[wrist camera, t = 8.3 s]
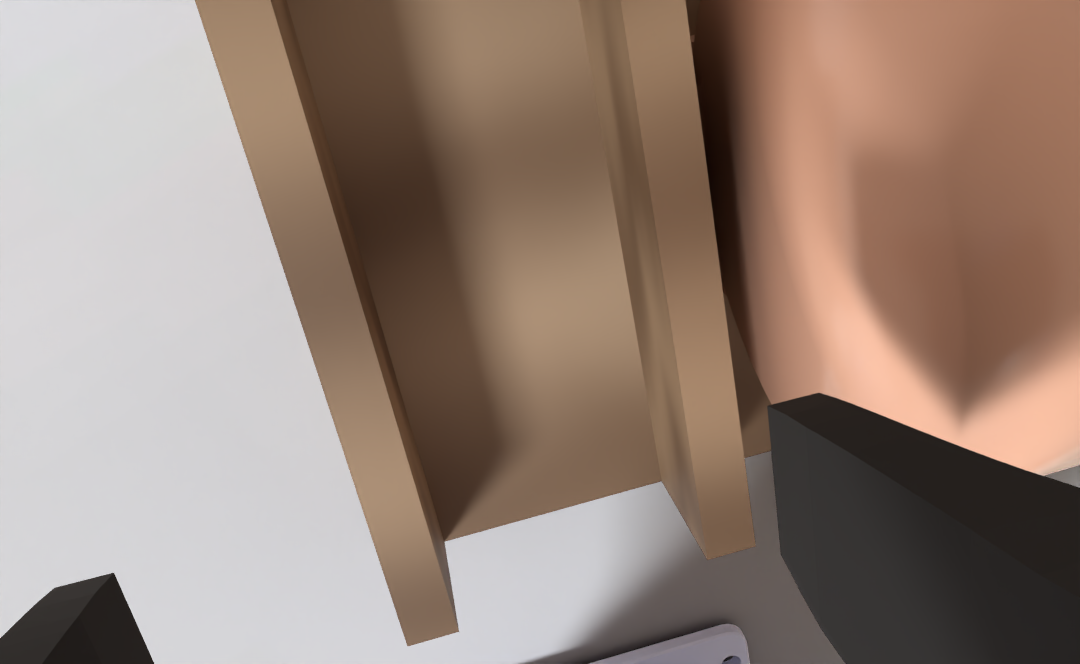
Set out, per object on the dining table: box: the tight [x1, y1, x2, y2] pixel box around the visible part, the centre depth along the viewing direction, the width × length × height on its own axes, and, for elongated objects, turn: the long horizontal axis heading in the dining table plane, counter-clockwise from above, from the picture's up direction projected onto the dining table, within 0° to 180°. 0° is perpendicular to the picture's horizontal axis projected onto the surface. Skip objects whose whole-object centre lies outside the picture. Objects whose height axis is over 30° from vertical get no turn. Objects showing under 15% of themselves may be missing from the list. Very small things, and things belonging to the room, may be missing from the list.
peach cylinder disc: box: [690, 0, 1080, 476], centre depth 15 cm, size 9×4×9 cm, turn 12°
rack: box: [195, 0, 772, 646], centre depth 18 cm, size 14×19×4 cm
